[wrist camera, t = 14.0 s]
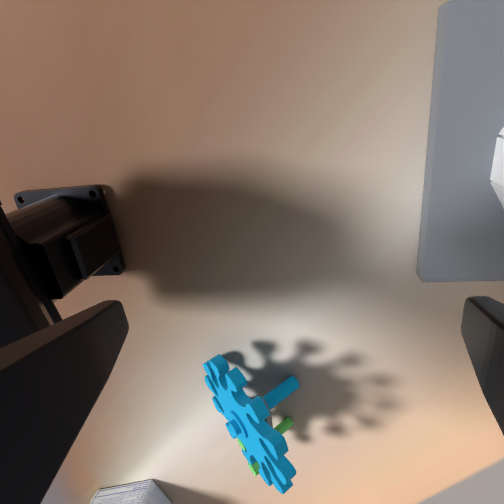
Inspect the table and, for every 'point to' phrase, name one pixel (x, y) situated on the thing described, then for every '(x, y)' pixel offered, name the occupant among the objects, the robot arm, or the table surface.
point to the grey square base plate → (465, 148)
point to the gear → (253, 421)
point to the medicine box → (131, 494)
